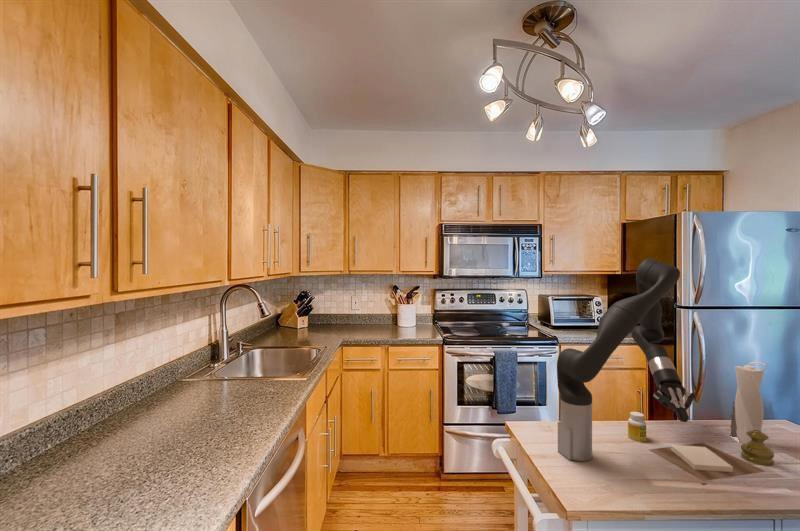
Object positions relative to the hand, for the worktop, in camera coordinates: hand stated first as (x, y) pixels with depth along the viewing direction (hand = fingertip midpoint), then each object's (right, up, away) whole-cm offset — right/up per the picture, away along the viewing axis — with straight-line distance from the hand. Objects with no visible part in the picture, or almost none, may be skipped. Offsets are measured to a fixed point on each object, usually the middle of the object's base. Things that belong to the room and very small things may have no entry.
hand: (684, 421), depth 125 cm
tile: (-1, -8, -2) cm, 8 cm away
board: (0, -10, -8) cm, 13 cm away
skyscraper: (+26, -10, +5) cm, 28 cm away
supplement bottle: (-12, -10, +6) cm, 16 cm away
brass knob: (+16, -10, -8) cm, 21 cm away
